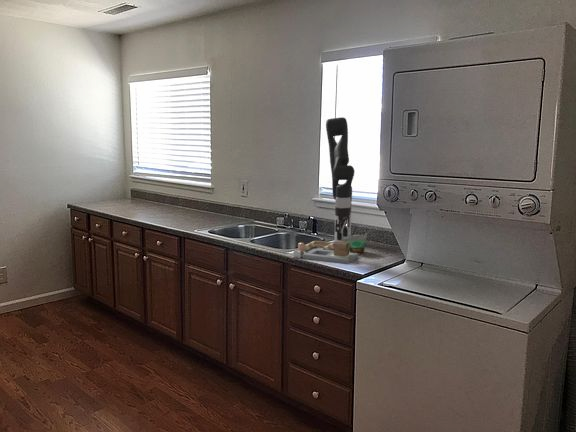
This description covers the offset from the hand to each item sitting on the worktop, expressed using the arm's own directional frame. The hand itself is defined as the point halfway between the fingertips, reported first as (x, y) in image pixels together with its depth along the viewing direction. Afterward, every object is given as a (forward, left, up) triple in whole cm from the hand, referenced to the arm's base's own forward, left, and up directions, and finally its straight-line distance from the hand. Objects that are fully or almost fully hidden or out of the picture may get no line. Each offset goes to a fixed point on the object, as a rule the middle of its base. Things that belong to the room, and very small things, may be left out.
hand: (342, 238), depth 254 cm
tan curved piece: (-14, -18, -10) cm, 25 cm away
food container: (-15, +3, -11) cm, 19 cm away
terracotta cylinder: (+1, -22, -11) cm, 25 cm away
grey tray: (0, -6, -11) cm, 12 cm away
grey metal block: (+6, -22, -11) cm, 25 cm away
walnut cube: (0, 0, -8) cm, 8 cm away
